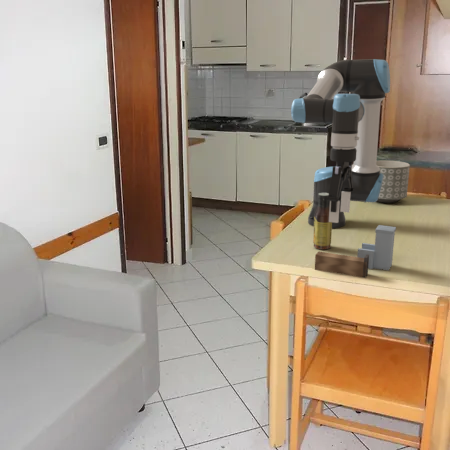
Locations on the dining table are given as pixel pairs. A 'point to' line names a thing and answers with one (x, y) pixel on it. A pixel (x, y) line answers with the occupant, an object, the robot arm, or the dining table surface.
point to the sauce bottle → (322, 224)
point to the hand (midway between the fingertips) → (339, 216)
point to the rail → (342, 264)
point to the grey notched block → (380, 248)
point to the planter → (393, 180)
